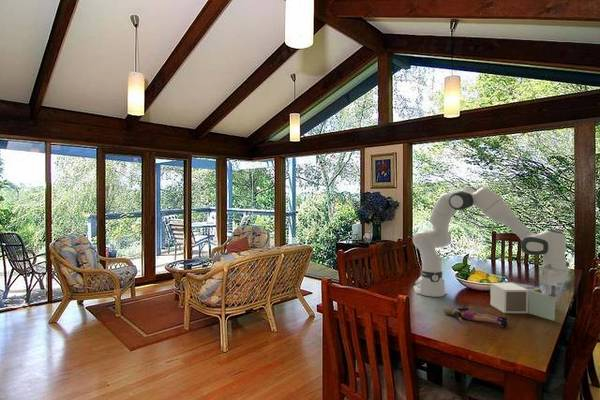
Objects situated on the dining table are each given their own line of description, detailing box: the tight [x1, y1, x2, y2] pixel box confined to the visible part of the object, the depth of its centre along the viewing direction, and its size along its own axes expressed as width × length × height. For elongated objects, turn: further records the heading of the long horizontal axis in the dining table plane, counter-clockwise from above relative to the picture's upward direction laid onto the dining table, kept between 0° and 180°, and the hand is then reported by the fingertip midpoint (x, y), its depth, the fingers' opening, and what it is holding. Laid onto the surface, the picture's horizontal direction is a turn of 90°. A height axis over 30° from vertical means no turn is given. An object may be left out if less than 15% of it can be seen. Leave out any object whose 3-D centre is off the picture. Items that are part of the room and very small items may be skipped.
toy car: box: [489, 281, 543, 295], centre depth 198 cm, size 11×25×10 cm, turn 30°
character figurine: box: [442, 306, 508, 329], centre depth 169 cm, size 20×4×28 cm
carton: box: [489, 282, 529, 314], centre depth 185 cm, size 14×12×12 cm
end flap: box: [527, 284, 558, 322], centre depth 172 cm, size 2×12×17 cm, turn 27°
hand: (553, 292), depth 168 cm, fingers open, 8 cm apart
